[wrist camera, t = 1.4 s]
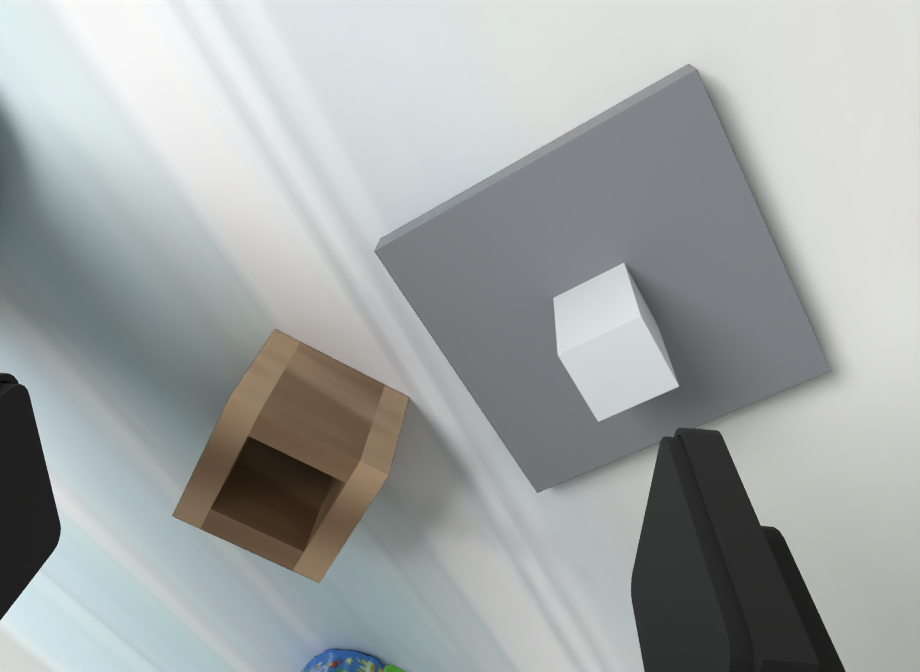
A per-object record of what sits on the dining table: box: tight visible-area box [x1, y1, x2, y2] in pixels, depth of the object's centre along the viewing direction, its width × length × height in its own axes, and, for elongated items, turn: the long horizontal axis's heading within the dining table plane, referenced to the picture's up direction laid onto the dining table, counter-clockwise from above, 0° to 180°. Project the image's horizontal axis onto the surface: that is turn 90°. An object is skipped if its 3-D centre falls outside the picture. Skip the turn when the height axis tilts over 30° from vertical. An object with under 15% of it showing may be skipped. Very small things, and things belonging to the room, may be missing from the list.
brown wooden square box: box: [172, 329, 409, 583], centre depth 34 cm, size 7×7×6 cm
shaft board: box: [374, 64, 831, 493], centre depth 30 cm, size 14×14×6 cm
